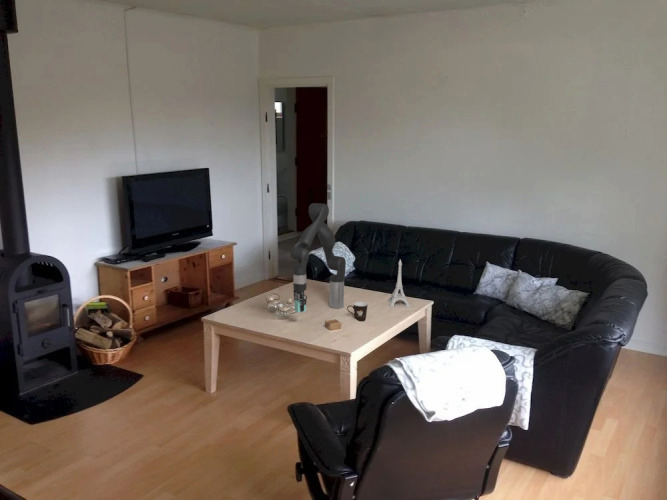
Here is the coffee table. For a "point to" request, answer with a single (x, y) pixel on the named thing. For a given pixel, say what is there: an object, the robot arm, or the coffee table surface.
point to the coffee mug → (359, 311)
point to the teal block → (298, 306)
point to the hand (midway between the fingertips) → (300, 309)
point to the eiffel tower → (395, 294)
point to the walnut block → (333, 325)
